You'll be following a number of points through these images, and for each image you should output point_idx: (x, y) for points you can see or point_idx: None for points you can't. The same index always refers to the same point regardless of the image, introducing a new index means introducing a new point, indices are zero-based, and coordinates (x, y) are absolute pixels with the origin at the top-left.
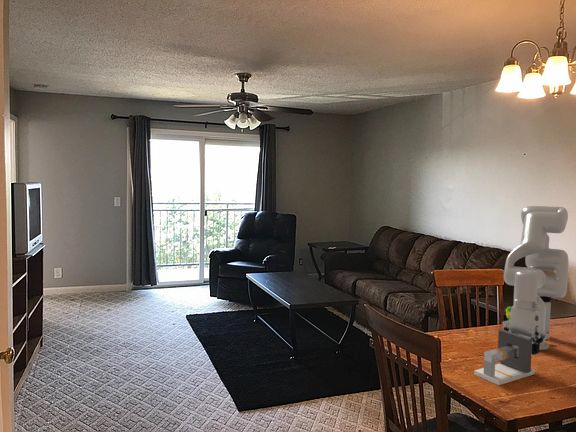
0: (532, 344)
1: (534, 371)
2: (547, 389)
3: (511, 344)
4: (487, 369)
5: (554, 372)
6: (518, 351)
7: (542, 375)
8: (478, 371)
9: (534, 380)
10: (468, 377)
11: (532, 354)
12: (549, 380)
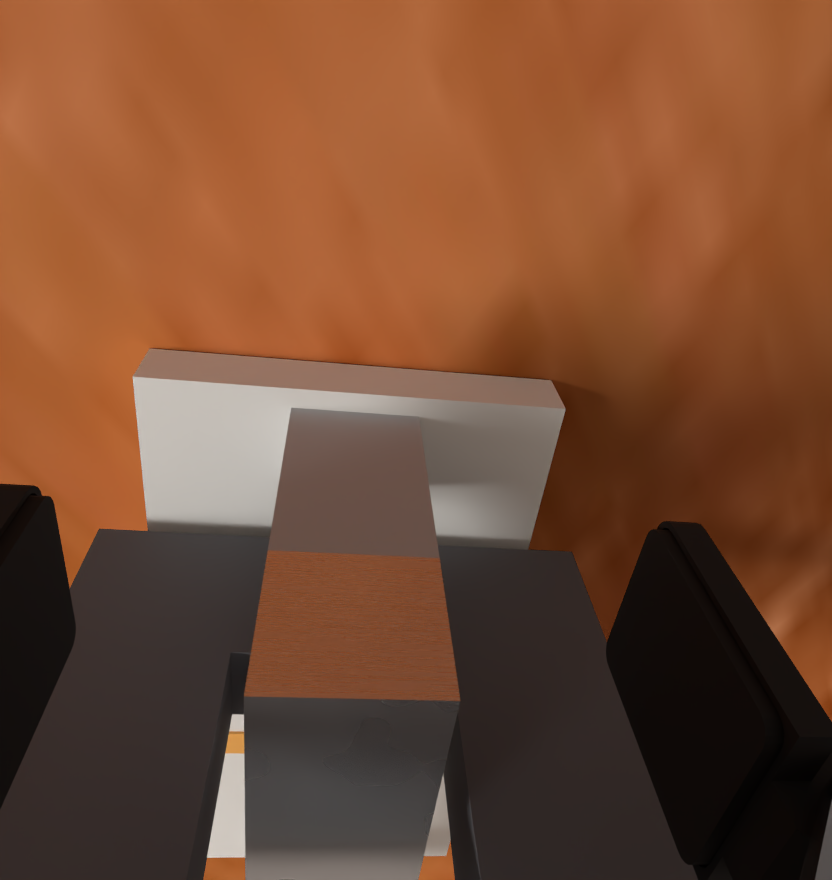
0: (697, 871)
1: (559, 405)
2: (779, 613)
3: (57, 609)
4: None
5: (754, 39)
6: (454, 847)
7: (641, 333)
8: (216, 849)
9: (618, 539)
10: (211, 868)
11: (616, 642)
12: (752, 408)
